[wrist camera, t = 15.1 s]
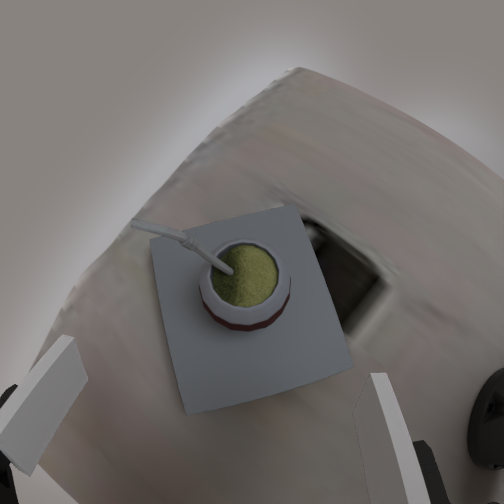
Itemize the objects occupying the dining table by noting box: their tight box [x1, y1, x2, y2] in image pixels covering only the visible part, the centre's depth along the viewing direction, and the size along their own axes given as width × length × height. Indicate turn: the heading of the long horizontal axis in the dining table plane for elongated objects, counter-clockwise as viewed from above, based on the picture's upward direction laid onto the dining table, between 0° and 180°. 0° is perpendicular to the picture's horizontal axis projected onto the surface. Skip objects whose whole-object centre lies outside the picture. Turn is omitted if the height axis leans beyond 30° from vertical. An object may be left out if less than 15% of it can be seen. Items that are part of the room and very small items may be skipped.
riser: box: [150, 204, 354, 415], centre depth 29 cm, size 18×16×4 cm
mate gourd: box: [131, 218, 291, 332], centre depth 21 cm, size 8×8×15 cm
